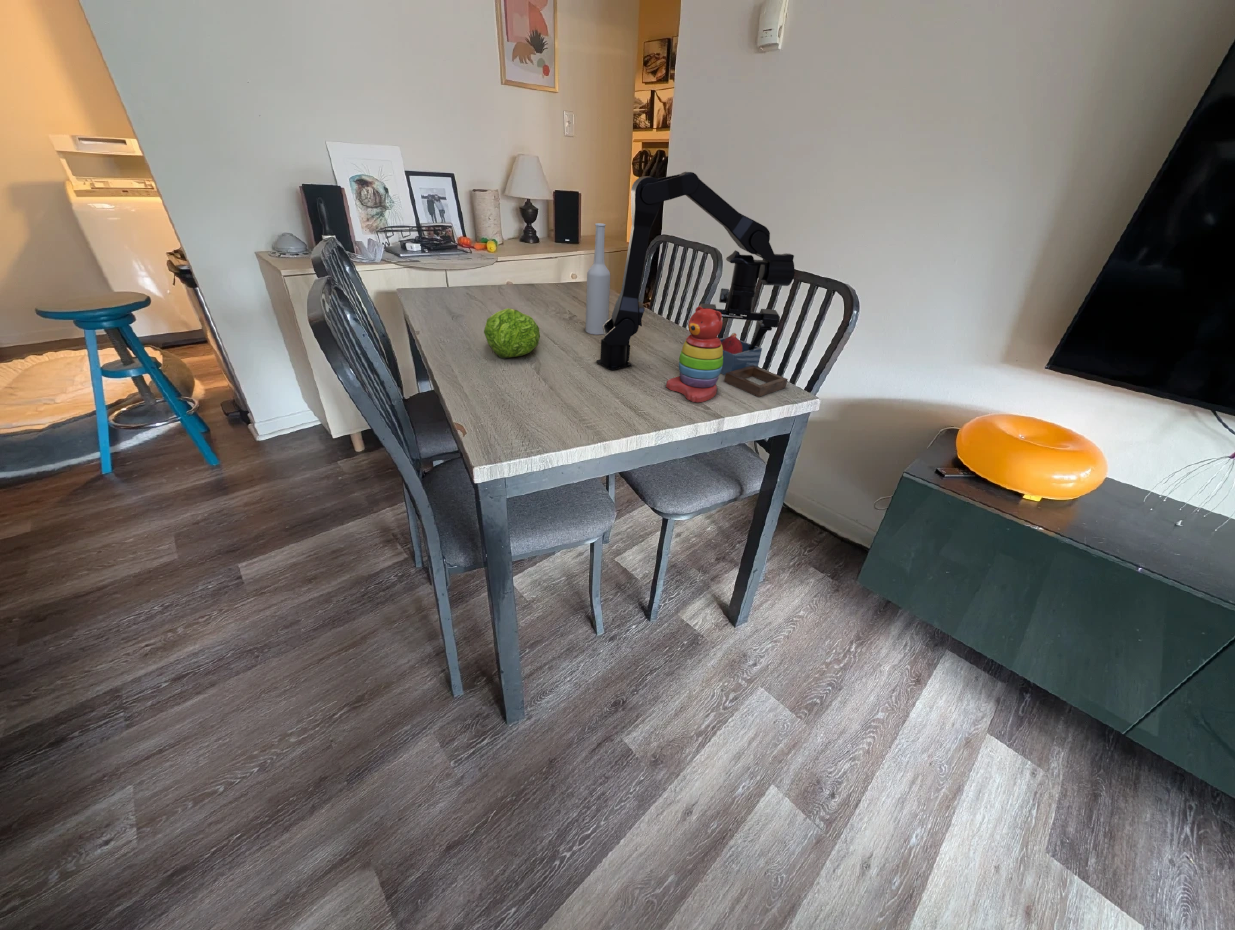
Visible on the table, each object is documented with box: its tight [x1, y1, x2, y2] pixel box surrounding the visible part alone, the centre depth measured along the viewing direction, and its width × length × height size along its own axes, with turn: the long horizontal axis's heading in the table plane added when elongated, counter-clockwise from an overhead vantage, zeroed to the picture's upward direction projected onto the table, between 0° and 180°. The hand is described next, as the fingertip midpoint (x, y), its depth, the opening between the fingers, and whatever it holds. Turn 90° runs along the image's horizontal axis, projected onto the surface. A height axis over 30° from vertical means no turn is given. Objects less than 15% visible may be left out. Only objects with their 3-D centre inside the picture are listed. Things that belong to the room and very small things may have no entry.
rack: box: [723, 365, 789, 398], centre depth 109 cm, size 10×10×2 cm
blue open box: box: [719, 336, 763, 376], centre depth 117 cm, size 10×10×6 cm
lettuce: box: [483, 307, 541, 359], centre depth 119 cm, size 12×24×13 cm
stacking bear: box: [665, 305, 723, 403], centre depth 100 cm, size 11×10×18 cm
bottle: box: [585, 222, 611, 336], centre depth 130 cm, size 7×7×28 cm
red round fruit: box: [721, 332, 743, 354], centre depth 116 cm, size 6×6×8 cm
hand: (731, 350), depth 117 cm, fingers open, 9 cm apart
